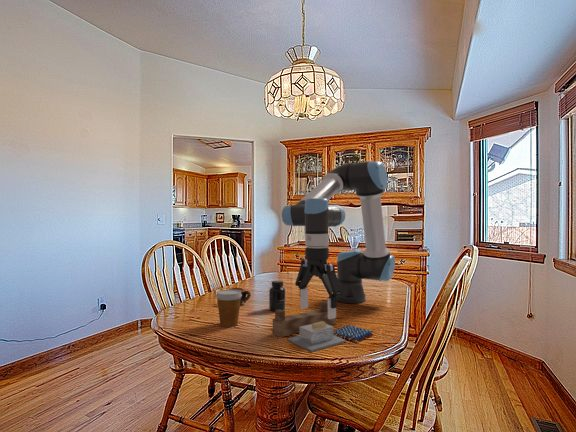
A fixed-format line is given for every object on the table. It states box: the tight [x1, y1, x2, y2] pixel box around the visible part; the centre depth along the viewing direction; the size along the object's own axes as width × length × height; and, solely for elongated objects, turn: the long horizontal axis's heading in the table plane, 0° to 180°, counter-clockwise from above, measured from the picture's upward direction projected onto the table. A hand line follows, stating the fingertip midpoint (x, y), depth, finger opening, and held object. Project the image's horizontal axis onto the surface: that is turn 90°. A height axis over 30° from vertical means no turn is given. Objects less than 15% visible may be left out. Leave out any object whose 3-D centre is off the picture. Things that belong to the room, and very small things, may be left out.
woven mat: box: [333, 324, 374, 343], centre depth 120 cm, size 10×11×2 cm
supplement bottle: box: [268, 280, 286, 312], centre depth 153 cm, size 7×7×12 cm
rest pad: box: [287, 334, 347, 353], centre depth 114 cm, size 14×12×1 cm
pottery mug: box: [231, 287, 252, 306], centre depth 163 cm, size 12×10×8 cm
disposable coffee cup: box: [215, 288, 242, 328], centre depth 132 cm, size 10×10×12 cm
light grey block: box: [299, 321, 334, 345], centre depth 115 cm, size 9×6×5 cm, turn 126°
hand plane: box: [272, 300, 337, 338], centre depth 127 cm, size 25×4×8 cm, turn 126°
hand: (317, 313), depth 115 cm, fingers open, 13 cm apart
